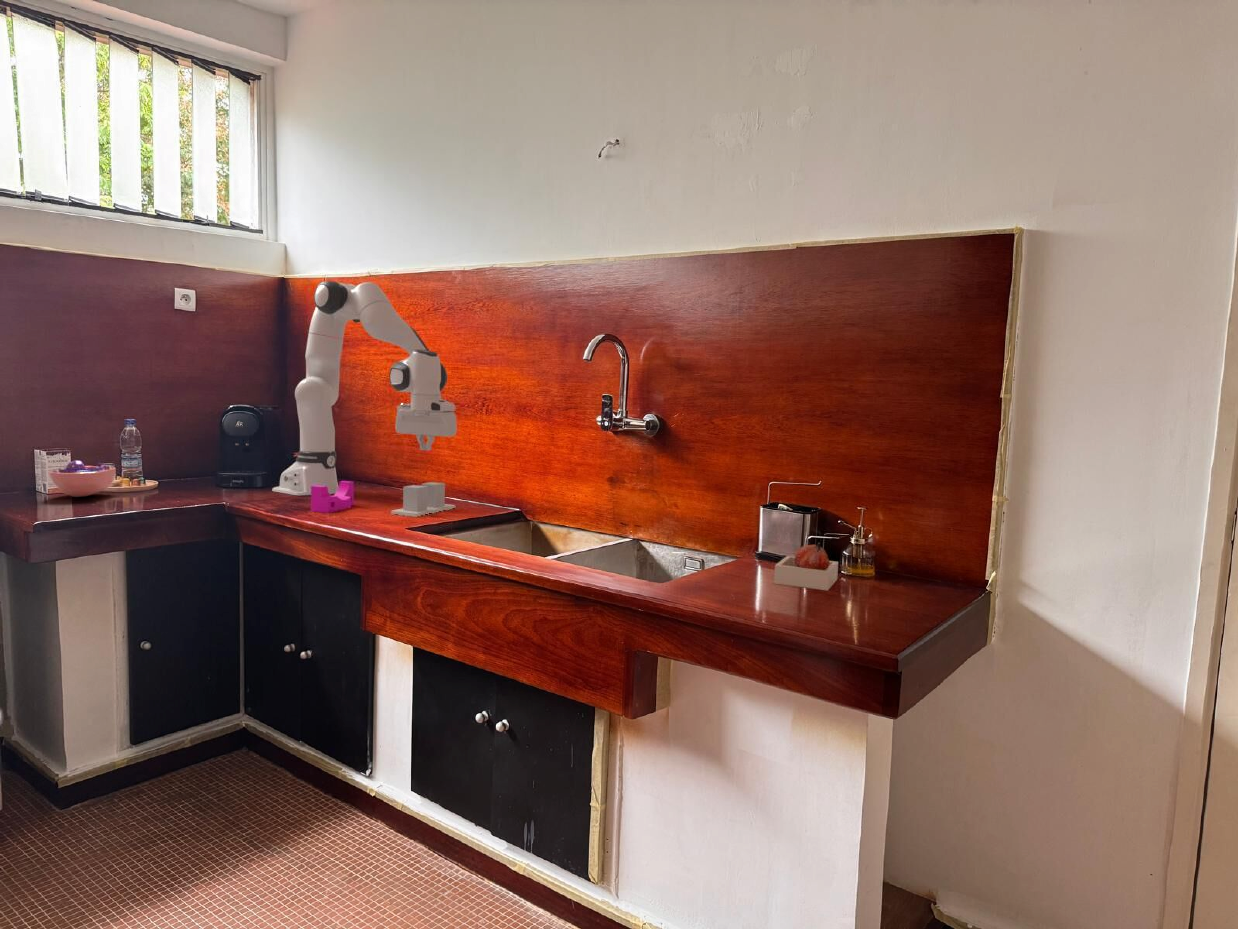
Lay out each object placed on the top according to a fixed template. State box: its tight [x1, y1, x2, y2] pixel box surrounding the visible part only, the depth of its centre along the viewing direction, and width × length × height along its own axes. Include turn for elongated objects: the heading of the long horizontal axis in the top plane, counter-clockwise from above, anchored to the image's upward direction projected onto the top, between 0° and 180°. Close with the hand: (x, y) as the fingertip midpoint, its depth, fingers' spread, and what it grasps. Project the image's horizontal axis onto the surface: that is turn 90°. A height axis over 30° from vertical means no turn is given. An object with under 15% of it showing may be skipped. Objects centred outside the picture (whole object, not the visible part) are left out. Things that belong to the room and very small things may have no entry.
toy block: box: [310, 480, 355, 514], centre depth 265 cm, size 15×6×8 cm, turn 159°
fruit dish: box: [773, 555, 839, 591], centre depth 191 cm, size 12×12×4 cm
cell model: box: [48, 459, 116, 498], centre depth 271 cm, size 17×20×11 cm
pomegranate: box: [794, 542, 830, 570], centre depth 189 cm, size 7×7×10 cm
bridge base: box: [390, 481, 457, 518], centre depth 264 cm, size 9×20×8 cm, turn 156°
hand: (425, 450), depth 263 cm, fingers closed
